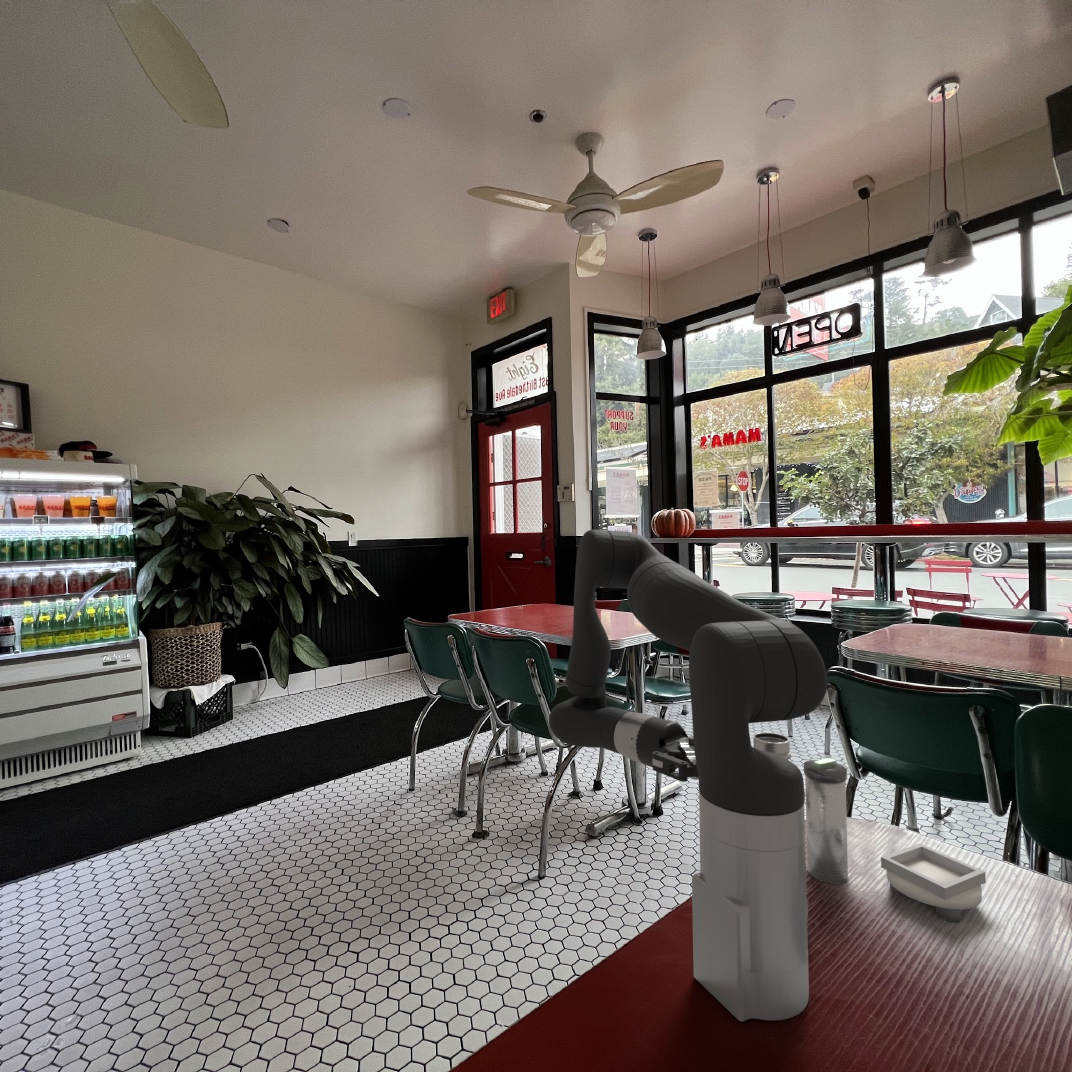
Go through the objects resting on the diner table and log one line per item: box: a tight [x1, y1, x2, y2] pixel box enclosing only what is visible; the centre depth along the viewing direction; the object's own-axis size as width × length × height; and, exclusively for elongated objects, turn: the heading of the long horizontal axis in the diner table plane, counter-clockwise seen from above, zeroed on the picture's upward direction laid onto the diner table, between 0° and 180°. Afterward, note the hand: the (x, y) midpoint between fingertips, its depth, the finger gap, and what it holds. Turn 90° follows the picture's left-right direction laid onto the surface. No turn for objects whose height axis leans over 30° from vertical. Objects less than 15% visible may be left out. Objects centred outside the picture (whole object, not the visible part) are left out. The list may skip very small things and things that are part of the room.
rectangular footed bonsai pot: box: [880, 843, 987, 923], centre depth 68 cm, size 9×9×4 cm
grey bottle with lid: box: [803, 757, 849, 884], centre depth 74 cm, size 5×5×14 cm
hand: (742, 769), depth 83 cm, fingers open, 8 cm apart
